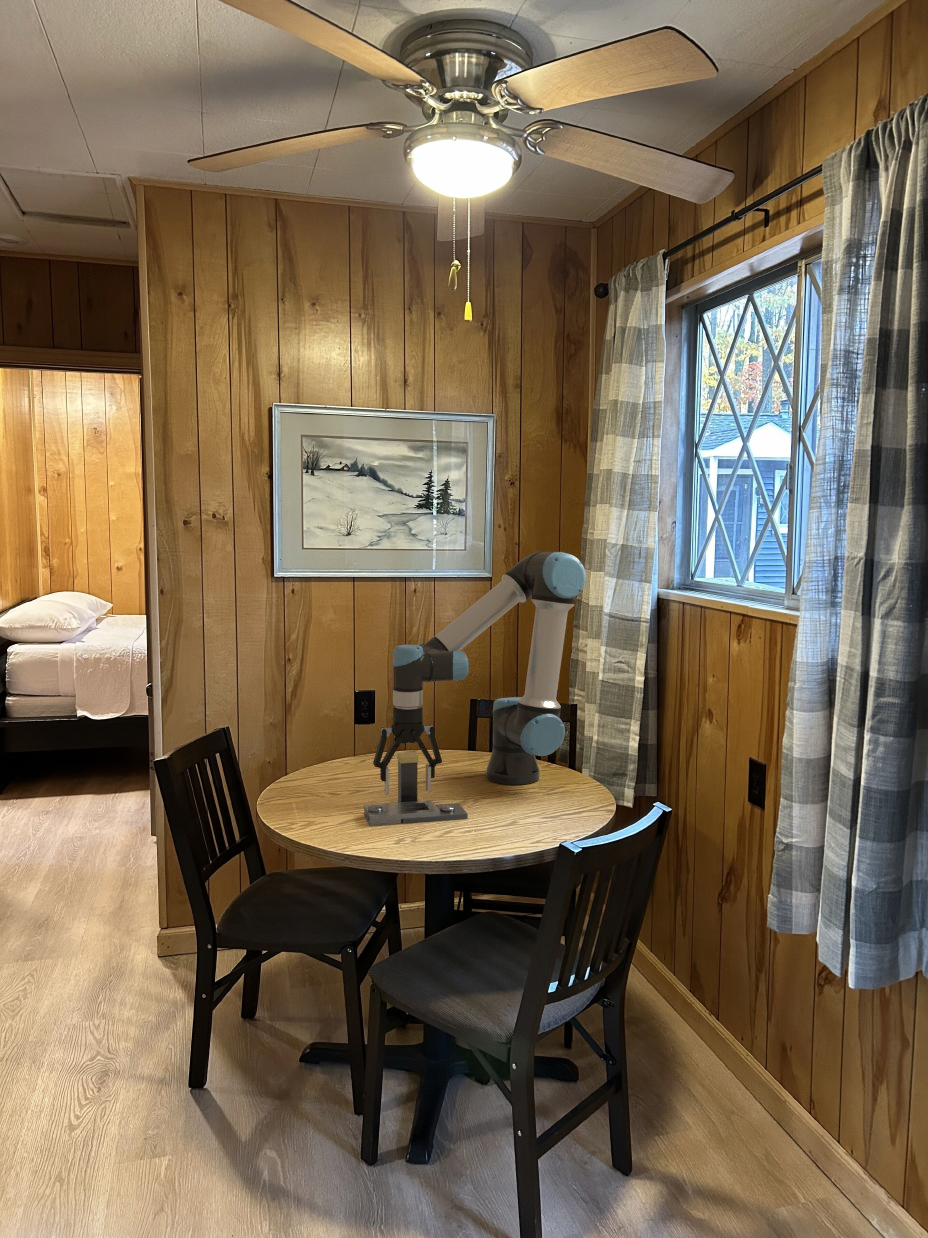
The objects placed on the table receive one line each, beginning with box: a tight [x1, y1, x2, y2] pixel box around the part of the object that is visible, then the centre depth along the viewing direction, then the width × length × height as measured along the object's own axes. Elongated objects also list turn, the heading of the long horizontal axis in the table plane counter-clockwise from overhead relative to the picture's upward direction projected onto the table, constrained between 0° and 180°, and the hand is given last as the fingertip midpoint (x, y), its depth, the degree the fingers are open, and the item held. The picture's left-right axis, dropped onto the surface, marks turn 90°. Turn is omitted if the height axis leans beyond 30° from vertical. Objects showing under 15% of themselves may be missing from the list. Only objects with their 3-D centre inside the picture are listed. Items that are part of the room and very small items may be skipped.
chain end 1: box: [363, 800, 440, 827], centre depth 222 cm, size 17×9×3 cm, turn 105°
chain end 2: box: [401, 802, 469, 824], centre depth 224 cm, size 16×9×2 cm, turn 105°
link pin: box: [396, 751, 419, 803], centre depth 232 cm, size 5×5×13 cm
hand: (407, 792), depth 232 cm, fingers open, 10 cm apart
